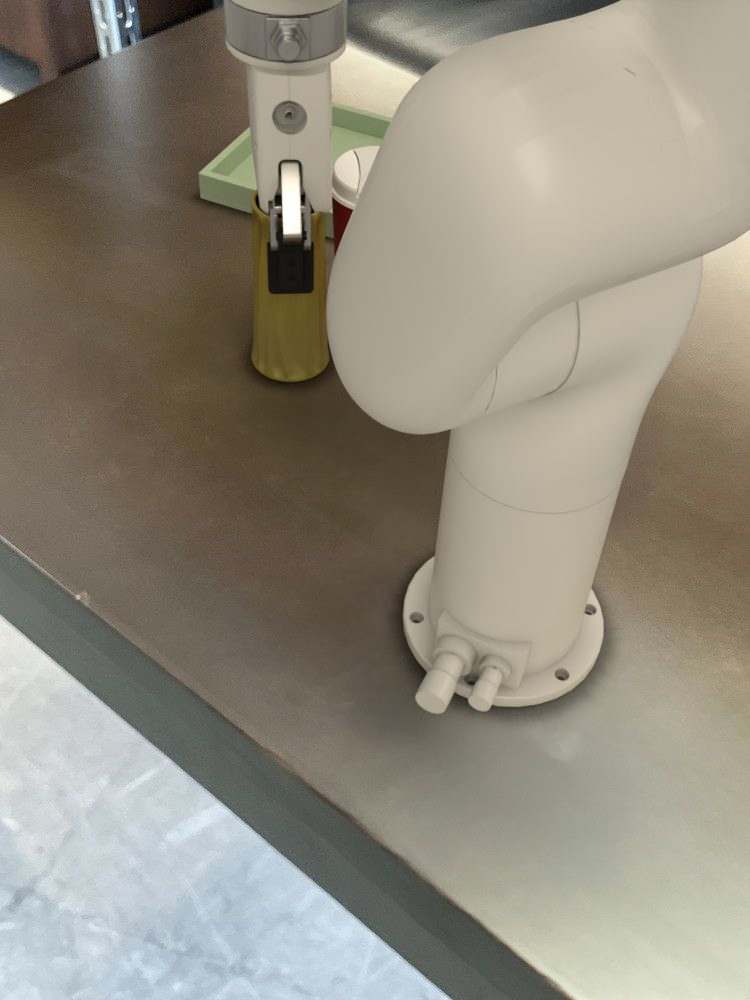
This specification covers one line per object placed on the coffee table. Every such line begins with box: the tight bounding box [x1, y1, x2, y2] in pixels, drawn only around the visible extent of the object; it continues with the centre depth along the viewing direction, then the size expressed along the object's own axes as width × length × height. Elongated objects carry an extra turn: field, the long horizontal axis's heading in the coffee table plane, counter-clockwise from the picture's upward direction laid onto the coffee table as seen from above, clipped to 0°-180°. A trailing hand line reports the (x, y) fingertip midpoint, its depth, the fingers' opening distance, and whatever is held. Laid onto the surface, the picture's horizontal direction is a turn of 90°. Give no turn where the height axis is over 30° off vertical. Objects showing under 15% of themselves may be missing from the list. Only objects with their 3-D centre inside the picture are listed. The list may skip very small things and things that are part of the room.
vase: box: [250, 189, 331, 383], centre depth 85 cm, size 6×6×14 cm
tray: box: [198, 101, 393, 240], centre depth 107 cm, size 18×16×3 cm
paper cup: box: [332, 146, 380, 257], centre depth 88 cm, size 8×8×14 cm
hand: (289, 263), depth 83 cm, fingers closed on vase, 5 cm apart
